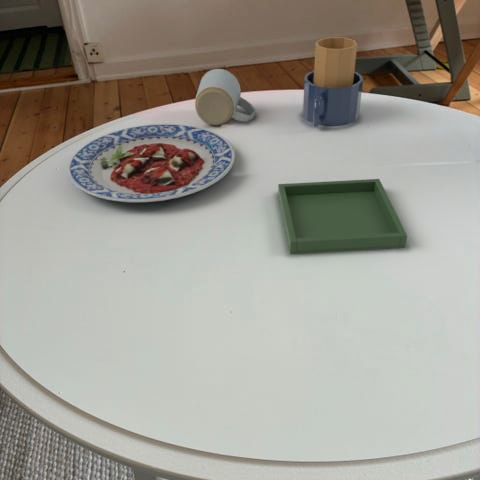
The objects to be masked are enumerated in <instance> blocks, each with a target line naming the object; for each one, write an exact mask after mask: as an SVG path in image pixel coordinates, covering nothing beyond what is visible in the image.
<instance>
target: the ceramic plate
mask: <svg viewBox="0 0 480 480" xmlns="http://www.w3.org/2000/svg"><path fill="white" fill-rule="evenodd" d="M76 151H77V152H75V154H73V156H72V157H71V159H70V160H69V163H68V167H67V171H68V176H69V178H70V180H71V183H73V184H74V185H75V186H76V187H77V188H78V189H79V190H81V191H83V192H85V193H86V194H87V195H88V194H89V195H91V196H94V197H96V198H100V199H103V200H108V201H113V202H123V203H152V202H153V203H154V202H162V201H167V200H172V199H178V198H182V197H185V196H188V195H192V194H195V193H197V192H200V191H203V190H205V189H206V188H208V187H210V186H212V185H214V184H216V183H217V182H219V181H220V180H221V179H223V178H224V177H225V176H226V175H227V174H228V173H229V172H230V170H231V169H232V168H233V167H234V166H233V165H234V163H235V159H236V158H235V157H236V152H235V149H234V147H233V146H232V144H231V143H230V142H229V140H227V139H226V138H225V137H224V136H222V135H220V134H219V133H216V132H214V131H212V130H210V129H207V128H203V127H199V126H196V125H188V124H187V125H186V124H179V123H152V124H143V125H138V126H131V127H125V128H122V129H119V130H115V131H111V132H109V133H106V134H104V135H101V136H99V137H96V138H95V139H93V140H91V141H89V142H87V143H86V144H84V146H82V147H81V148H80V149H78V150H76Z"/></svg>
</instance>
